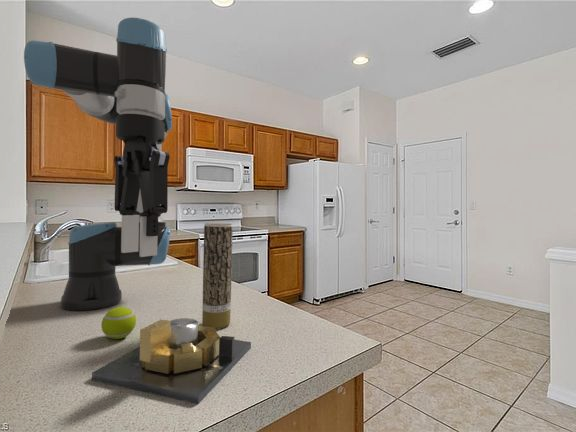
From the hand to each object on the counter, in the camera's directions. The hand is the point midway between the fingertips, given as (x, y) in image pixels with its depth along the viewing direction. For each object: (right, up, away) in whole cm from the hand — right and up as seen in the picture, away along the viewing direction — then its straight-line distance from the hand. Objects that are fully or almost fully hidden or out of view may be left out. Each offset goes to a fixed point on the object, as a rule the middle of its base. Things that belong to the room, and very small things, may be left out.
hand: (138, 253), depth 55 cm
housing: (+6, -21, +5) cm, 22 cm away
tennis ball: (-11, -20, +15) cm, 28 cm away
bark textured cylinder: (+8, -21, +24) cm, 32 cm away
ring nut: (+5, -19, +3) cm, 20 cm away
